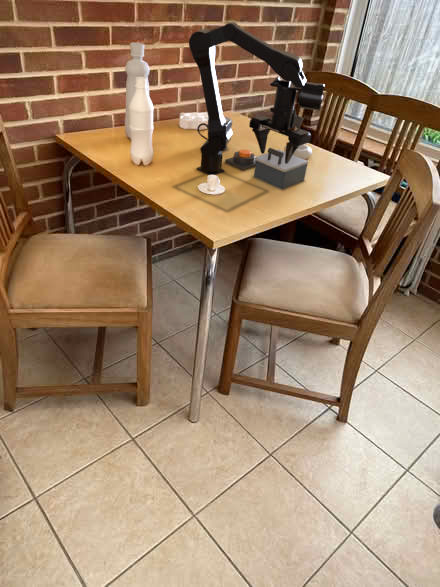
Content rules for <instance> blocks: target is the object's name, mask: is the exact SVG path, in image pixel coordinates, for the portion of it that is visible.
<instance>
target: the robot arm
mask: <svg viewBox="0 0 440 587" xmlns="http://www.w3.org/2000/svg"><path fill="white" fill-rule="evenodd" d="M225 42H232V43H233V44H234V45H236V46H238V47H240V48H241V49H243V50H244V51H246V52H247V53H250V55H253V56H254V57H256V58H258V59H259V60H261V61H263V62H264V63H265V64H267V65H268V66H269V67H270V68H271V69H272V70H273V72H274V73H275V74H277V76H276V77H275V79H273V80H271V82H270V83H269V86H270V87H273V88H276V89H275V96H274V100H273V106H272V107H270V110H269V111H270V112H271V113H272V114H271V117H268V116H265V115H262V114H260V115H257V116H253V117H251V118H250V120H249V125H248V127H249V128H251V131H252V133H253V134H254V136H255V138H256V141H257V144H258V147H259V150H260V155H264V154H265V152H266V149H267V142H268V136H269V134H270V131H272V132H275V133H277V134H280V135H283V136H285V137H287V140H288V141H287V142H286V145H285V147H286V154H285V163H286V164H287V163H288V162H289V161H290V159H291V157H292V156H293V154H294V152H295V151H296V149H297V148H298V147H299V146H300V145H307V144H309V143H311V139H312V135H311V132H309V131H307V130H305V129H301V126H302V123H303V120H304V117H302V116H299V115H297V109H295V103H296V104H298V106H299V108H300V109H305V110H311V111H316V112H320V111H321V107H322V103H323V100H324V99H323V98H324V95H323V94H324V90H325V86H326V84H325V83H316V82H310V81H309V82H308V81H307V78H306V76H305V74H304V71H303V70H302V69H303V61H302V59H301V57H300V56H299V55H297V54H295V53H293V52H290V51H287V50H285V49H284V50H283V49H280V48H277V47H274V46H272V45H270V44H269V43H268V42H266V41H264V40H262V39H261V38H260V37H258V36H257V35H255V34H253V33H251V32H250V31H248V30H246V29H245V28H243V27H241V26H240V25H239V24H238V23H237V22H234V21H230V22H228V23H225V25H223V26H222V25H221V26H220V27H217V28H213V29H211V30H210V29H208V28H201V29H199V30H197V31H195V32H193V33H192V34H191V36H190V37H189V39H188V47H189V51H190V53H191V56H192V59H193V61H194V62H195V64H196V66H197V67H198V70H199V75H200V81H201V87H202V91H203V98H204V101H205V107H206V112H207V113H208V118H209V125H208V129H207V140H206V141H205V142H204V143H203V144H202V145H201V146H200V148H199V150H200V153H201V158H200V166H198V167H196V170H197V171H199V172H201V173H203V174H205V175H207V176H208V175H216V176H217V175H219V174H223V173H224V172H225V169H223V168H222V166H223V156H224V155H223V152H224V151H222V150H224V149H225V147H226V146H227V147H228V144H229V143H230V142H231V139H232V135H233V134H234V133H233V130H232V127H231V121H227V122H226V120H225V119H224V117H225V116H224V114H223V109H222V102H221V96H220V93H219V92H220V90H219V86H218V79H217V74H216V68H215V60H216V59H215V58H216V46H218V45H221V44H223V43H225ZM297 93H298V95H297ZM296 98H297V100H296ZM223 116H224V117H223ZM295 128H296V129H295ZM292 129H295V130H292Z"/></svg>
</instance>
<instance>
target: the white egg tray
mask: <svg viewBox="0 0 440 587" xmlns="http://www.w3.org/2000/svg"><path fill="white" fill-rule="evenodd" d="M202 123H205V124H207V125H208V113H207V111H204V112H203V111H202V112H195V111H193V112H180V113H179V124H178V126H179V128H181V129H185V130H196V131H197V128H198V126H199V125H200V124H202ZM202 130H208V129H207V127H206V126H205V125H202V126H200V127H199V131H202Z"/></svg>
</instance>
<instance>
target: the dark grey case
mask: <svg viewBox="0 0 440 587" xmlns="http://www.w3.org/2000/svg"><path fill="white" fill-rule="evenodd" d="M308 164H309V163H308ZM308 164H305V165H302V166H300V167H297V168H294V169H292V170H289V171H287V172H283V171H280V170H278V169H276V168H273V167H271V166H269V165H266V164H264V163H261V162H259V161H257V160H256V164H255V167H254V172H253V178H255V179H257V180H259V181H262V182H263V183H266V184H269V185H271V186H272V187H275V188H277V189H280V190H281V191H284V190H286V189H288V188H291V187H293V186H295V185H298V184H301V183H303V182H304V181H305V179H306V178H305V177H306V173H307V168H308Z"/></svg>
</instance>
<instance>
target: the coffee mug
mask: <svg viewBox="0 0 440 587" xmlns="http://www.w3.org/2000/svg"><path fill="white" fill-rule="evenodd" d="M223 117H224V119H225V120H226V122H227V121H231V128H232V126H233V121H234V120H233V119H232V118H230V117H227V116H224V115H223ZM202 125H205V126H206V127H207V129H206V130H208V125H209V118H208V125H207V124H205V123H202V124H200V125H199V126H198V128H197V130H196V131H197V133H198V135H200V137H202V139H204V140H206V141H207V139H208V137H206V136H204V135H203V134H202V132H200V130H199V127H200V126H202ZM227 149H228V145H227V146H226V147H225V149H224V150H222V151H223V152H225V151H227Z"/></svg>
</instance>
